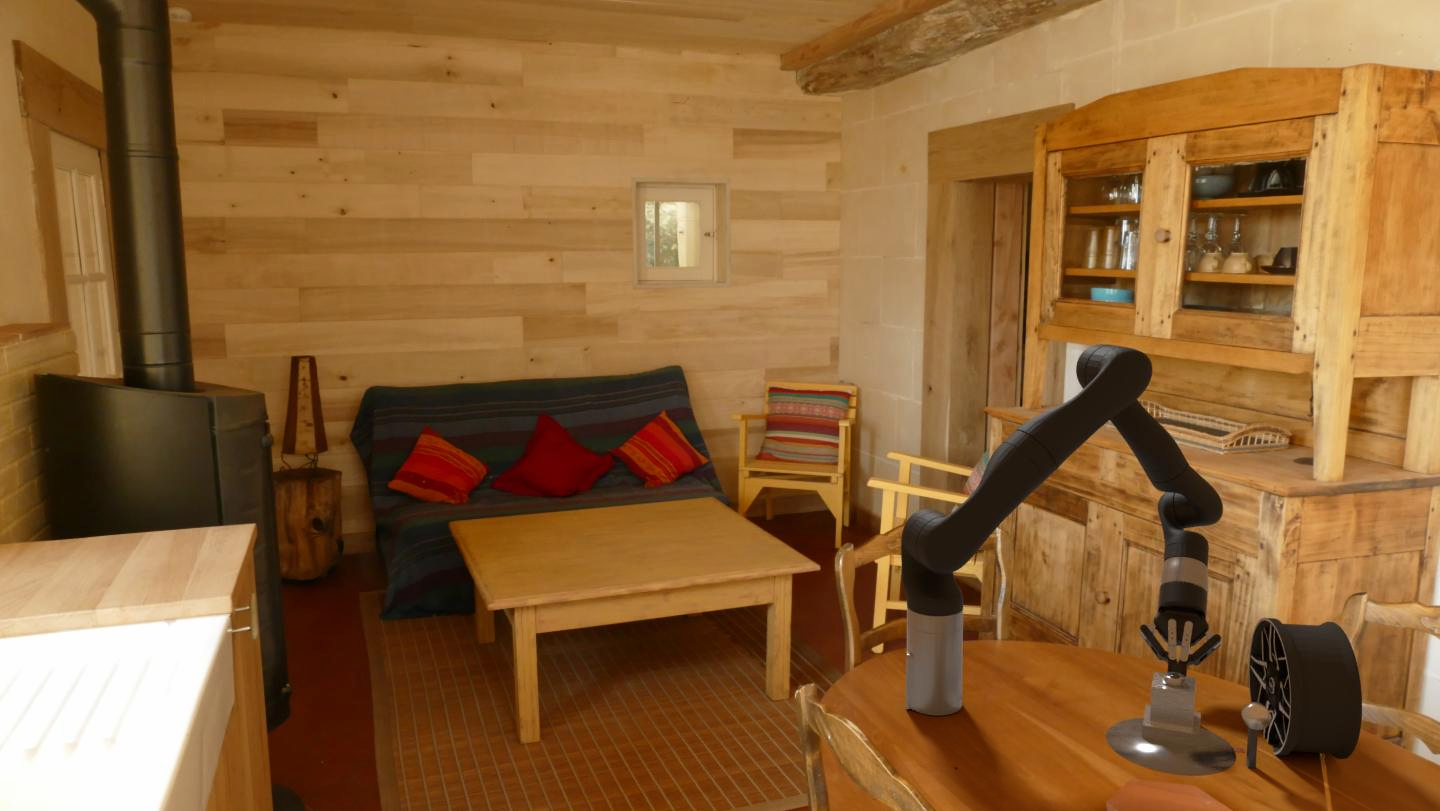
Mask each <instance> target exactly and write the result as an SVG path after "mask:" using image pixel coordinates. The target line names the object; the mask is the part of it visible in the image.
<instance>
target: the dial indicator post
mask: <svg viewBox="0 0 1440 811" xmlns="http://www.w3.org/2000/svg"><path fill="white" fill-rule="evenodd" d="M1241 718H1242V720H1243V721H1244V723H1245V725H1246V726H1247V727H1248V728H1247V742H1246V743H1247V745H1246V760H1245V761H1246V763H1245V766H1246V767H1247V769H1250V770H1251V769H1252V770H1256V768H1257V766H1256V765H1257V754H1258V753H1257V751H1258V736H1259V735H1258V734H1259V731H1260V730H1262V729H1265V728H1266V727H1268V726H1269V724H1270V723H1271V719H1272V718H1271V714H1270V712H1269V711H1268V709H1267V708H1266V707H1265V706H1264V705H1263V704H1261V703H1257V702H1251V701H1250V702H1249V703H1247V704H1246V705H1245V706H1243V708H1242V710H1241Z"/></svg>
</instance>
